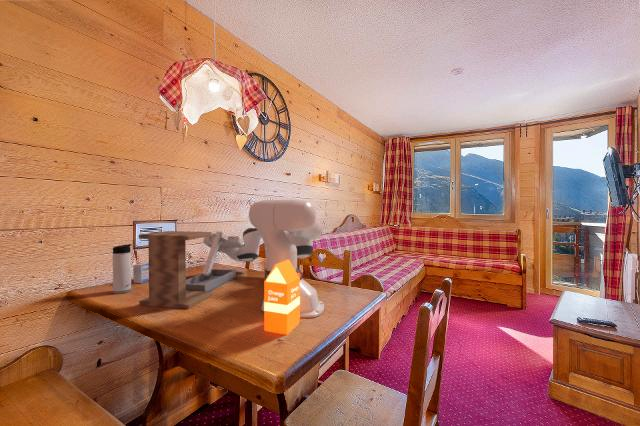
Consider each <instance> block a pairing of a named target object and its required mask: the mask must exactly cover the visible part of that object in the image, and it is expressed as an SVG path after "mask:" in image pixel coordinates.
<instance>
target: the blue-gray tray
mask: <svg viewBox="0 0 640 426" xmlns="http://www.w3.org/2000/svg"><path fill="white" fill-rule="evenodd" d="M236 278H237V270H236V269H224V268H223V269H220V268H218V269H217V268H212V270H211V273H210V276H204V275H203V274H202V273H200V274H198V275H197V274H196V275H195V276H192V277H190V278H187V279H186V290H189V291H206V292H213V291H214V290H216V289H218V288H219V287H221V286H223V285H225V284H226V283H228V282H230V281H232V280H234V279H236Z"/></svg>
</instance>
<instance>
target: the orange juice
mask: <svg viewBox="0 0 640 426" xmlns="http://www.w3.org/2000/svg"><path fill="white" fill-rule="evenodd" d="M263 282H264V283H263V285H264V295H263V300H264V312H263V313H264V316H263V317H264V318H263V319H264V322H263V323H264V325H263V326H264V328H263V329H264V330H263V331H265V332H270V333H274V334H281V335H289V334H290V333H291V332H292V331H293V330H294V329H295V328H296V327H297V326H299V324H300V319H301V317H300V277H299V276H298V274H297V272H296V271H295V269H294V267H293V266H292V264H291V262H290V261H289V259H288V260H285V261H283V262H280V263H278V264H276V265H275V266H274V268H273V269H272V271H271V272H270V274H269V276H268V277H267V279H266V280H264V281H263Z"/></svg>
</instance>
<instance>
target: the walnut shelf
mask: <svg viewBox="0 0 640 426" xmlns="http://www.w3.org/2000/svg"><path fill="white" fill-rule="evenodd" d="M212 234H213V233H212V231H184V230H183V231H182V230H181V231H176V230H165V231H157V232H150V233H148V232H147V233H142V234H141V233H140V234H138V239H139V240H143V239H144V240H148V262H149V281H148V297H146V298H144V299H141V300H139V302H138V303H139V306H143V307H144V306H145V307H157V308H159V307H160V308H171V309H183V310H185V309H186V310H190V309H192V308H193V307H194V306H197V305H198V304H200V303H202V302H204V301H205V300H207V299H208V297H209V298H211V297H212V296H213V291H210V292H206V291H189V290H186V280H187V279H186V278H187V277H186V276H187V275H186V274H187V270H186V268H187V267H186V265H187V263H186V260H187V259H186V256H187V255H186V254H187V253H186V246H187V245H186V244H187V243H186V241H191V240H196V239H201V238H203V239H204V237H208V236H212ZM201 301H202V302H201ZM196 304H197V305H196Z"/></svg>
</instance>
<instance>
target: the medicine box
mask: <svg viewBox="0 0 640 426" xmlns="http://www.w3.org/2000/svg"><path fill="white" fill-rule="evenodd" d="M132 266H133V267H132V268H133V269H132V270H133V273H132V274H133V284H134V283H135V284H144V283H147V282H149V261H146V262H142V263H138V264H133V265H132Z"/></svg>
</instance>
